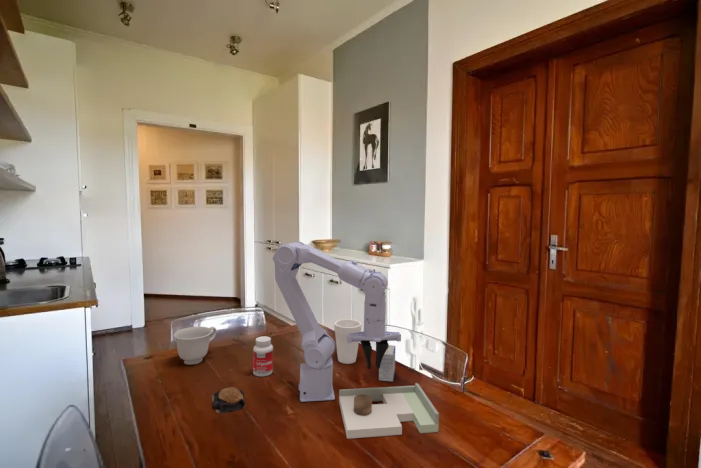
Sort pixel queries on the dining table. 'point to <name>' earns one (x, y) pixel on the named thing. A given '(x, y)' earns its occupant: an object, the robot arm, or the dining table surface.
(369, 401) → the brown wooden cylinder
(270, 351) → the pill bottle
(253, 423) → the dining table surface
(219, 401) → the tan black low dome
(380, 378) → the medicine box
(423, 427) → the box
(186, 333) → the teacup
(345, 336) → the foam cup
